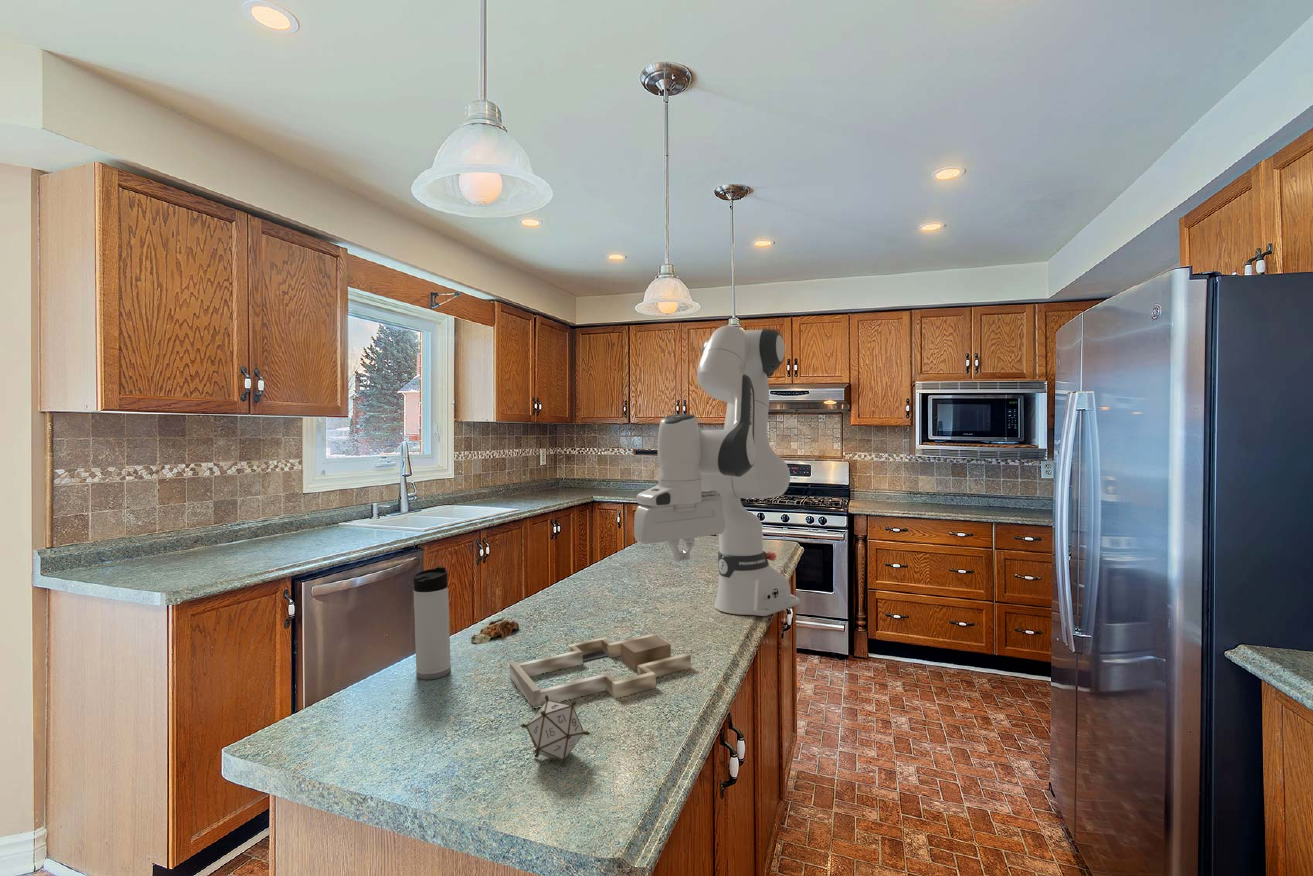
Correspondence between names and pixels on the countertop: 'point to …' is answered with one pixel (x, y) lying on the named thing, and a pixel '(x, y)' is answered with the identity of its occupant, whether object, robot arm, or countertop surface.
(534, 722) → the game die
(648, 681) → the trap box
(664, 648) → the walnut block
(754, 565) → the robot arm
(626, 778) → the countertop surface
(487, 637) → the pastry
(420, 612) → the travel mug
